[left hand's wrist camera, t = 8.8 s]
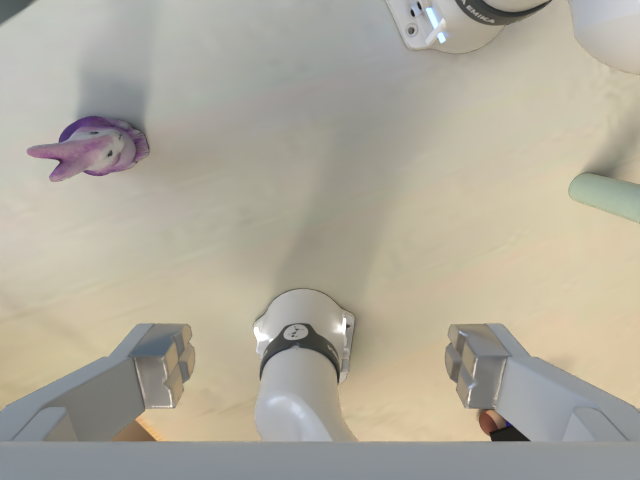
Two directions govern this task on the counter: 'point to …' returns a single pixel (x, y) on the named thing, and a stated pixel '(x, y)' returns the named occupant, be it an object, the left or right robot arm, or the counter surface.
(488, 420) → the figurine character
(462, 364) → the left robot arm
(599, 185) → the jar
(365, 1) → the counter surface
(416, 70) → the counter surface
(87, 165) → the figurine
